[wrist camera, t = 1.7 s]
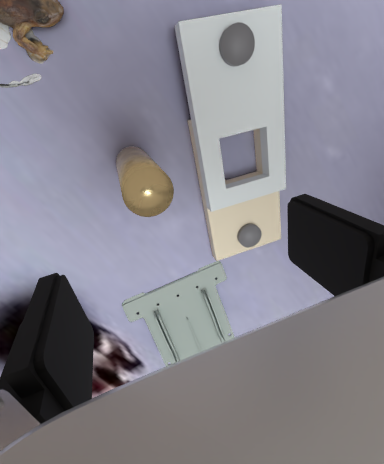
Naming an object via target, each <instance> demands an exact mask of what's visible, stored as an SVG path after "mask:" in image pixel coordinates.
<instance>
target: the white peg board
mask: <svg viewBox="0 0 384 464" xmlns="http://www.w3.org/2000/svg"><path fill="white" fill-rule="evenodd" d="M175 32H176V38H177V43H178V49H179V55H180V60H181V66H182V71H183V77H184V82H185V88H186V94H187V99H188V105H189V110H190V116H191V120H187V121H188V126H189V131H190V137H191V142H192V148H193V153H194V158H195V164H196V169H197V174H198V180H199V185H200V191H201V196H202V201H203V207H204V212H205V217H206V223H207V228H208V234H209V239H210V244H211V250H212V255H213V257H214V258H215V260H216V261H218V260H221V259H224V258H227V257H230V256H233V255H236V254H239V253H242V252H244V251H247V250H250V249H253V248H256V247H259V246H262V245H265V244H268V243H271V242H274V241H276V240H279V239H281V224H280V198H279V191H281V190H284V189H286V167H285V127H284V88H283V48H282V8H281V5H275V6H269V7H263V8H257V9H251V10H245V11H239V12H233V13H227V14H221V15H215V16H209V17H203V18H197V19H191V20H185V21H179V22H178V23H177V24H176V25H175ZM251 130H253V131H254V144H255V157H256V170H257V171H256V172H252V173H249V174H246V175H242V176H239V177H235V178H232V179H228V180H225V178H224V170H223V163H222V156H221V149H220V141H219V139H220V138H224V137H228V136H232V135H236V134H239V133H243V132H247V131H251Z"/></svg>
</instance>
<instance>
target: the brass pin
mask: <svg viewBox="0 0 384 464" xmlns="http://www.w3.org/2000/svg"><path fill="white" fill-rule="evenodd" d="M116 167H117V172H118V177H119V182H120V187H121V192H122V197H123V200H124V203H125V204H126V206H127V207H128V208H129V209H130V210H131V211H132V212H133V213H135V214H137V215H139V216H144V217H151V216H156V215H158V214H160V213H162V212H163V211H165V210H166V209H167V208H168V206H169V205H170V203H171V201H172V199H173V193H174V189H173V184H172V182H171V180H170V178H169V177H168V175H167V174H166V173H165V172H164V171H163V170H162V169H161V168H160V167H159V166H158V165H157V164H156V163H155V162H154V161H153V160H152V159H151V158H150V157H149V156H148V155H147V154H146V153H145V152H144V151H143V150H142V149H140V148H138V147H134V146H130V147H126V148H124V149H122V150H121V151H120V152H119V154H118V156H117V158H116Z"/></svg>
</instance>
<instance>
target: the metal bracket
mask: <svg viewBox="0 0 384 464" xmlns="http://www.w3.org/2000/svg"><path fill="white" fill-rule="evenodd" d="M216 277H217V279H216V280H215V278H216ZM225 280H226V274H225V272H224V269H223V266H222V264H221V262H220V261H216V262H214V263H212V264H209V265H207V266H204V267H202V268H200V269H199V270H198V271H197V272H194V273H192V274H190V275H188V276H185V277H183V278H181V279H178V280H176V281H174V282H171V283H169V284H167V285H165V286H162V287H160V288H158V289H155V290H153V291H151V292H148V293H141V294H139V295H136V296H134V297H131V298H129V299H127V300H125V301H124V302H123V303H122V307H123V309H124V312H125V314H126V316H127V318H128V320H129V321H130V322H134V321H136V320H138V319H140V318H144V319H145V321H146V323H147V325H148V328H149V330H150V332H151V334H152V336H153V339H154V341H155V343H156V345H157V347H158V350H159V352H160V354H161V356H162V358H163V361H164V363H165V365H166V366H169V365H171V364H173V363H176V362H178V361H180V360H183V359H185V358H188V357H190V356H192V355H195V354H197V353H199V352H202V351H204V350H207V349H209V348H211V347H214V346H216V345H218V344H221V343H223V342H226V341H228V340H230V339H233V338H234V334H233V332H232V329H231V326H230V324H229V321H228V319H227V316H226V313H225V311H224V308H223V305H222V303H221V300H220V297H219V295H218V292H217V289H216V285H217V284H218V283H221V282H223V281H225ZM196 286H198V288H196ZM177 295H179V296H178V297H177ZM157 303H159V305H157ZM137 312H139V314H137ZM229 333H231V335H230V336H228V334H229ZM168 362H171V364H168Z"/></svg>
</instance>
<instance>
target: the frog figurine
mask: <svg viewBox="0 0 384 464" xmlns="http://www.w3.org/2000/svg"><path fill="white" fill-rule="evenodd" d="M63 13H64V10H63V7H62V6H61V4H60V3H59V2H58V1H57V0H0V49H5V48H6V47H7V45H8V42H9V41H10V39H11V34H10V32H9V26H10V27H12V28H13V37H14V40H15V41H16V42H18V45H19V46H21V47H23V48H25V49H26V51H27V53H28V55H29V57H30V58H31V59H32V60H33V61H35V62H37V63H40V64H43V63H44V61H46V60H47V58H48V57H49V56H50V55H51V54H53V51H52V50H50V49H49V48H48V46H46V45H43V44H42V42H41V41H40V40H39V39H38V38H37V37H35V36H34V34H33V31H32V29H31V28H32V27H51V26H54V25H55V24H56V23H58V22H59V21H60V19H61V18H62V16H63ZM40 79H41V75H39V74H32V75H29V76H27V77H25V78H23V79H22V80H21V81H20V82H17V81H12V82H11V83H9V84H0V87H5V88H8V87H17V86H21V85H24V86H27V85H30V84H32V83H34V82H36V81H39V80H40Z"/></svg>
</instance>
